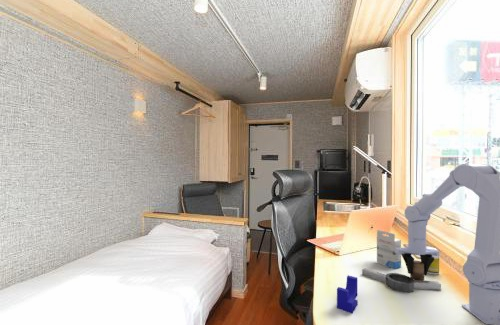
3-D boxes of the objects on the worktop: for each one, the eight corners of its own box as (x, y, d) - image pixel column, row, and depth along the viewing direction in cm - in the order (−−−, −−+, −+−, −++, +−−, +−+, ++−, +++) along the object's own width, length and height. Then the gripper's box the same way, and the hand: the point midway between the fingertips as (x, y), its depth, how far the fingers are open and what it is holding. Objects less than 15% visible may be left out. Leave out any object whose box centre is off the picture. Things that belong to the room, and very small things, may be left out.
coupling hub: (426, 281, 93) (426, 264, 93) (414, 280, 94) (414, 264, 94) (419, 275, 98) (419, 260, 98) (407, 274, 99) (407, 259, 99)
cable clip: (352, 314, 74) (352, 293, 74) (336, 308, 76) (336, 288, 76) (362, 297, 83) (362, 278, 83) (348, 293, 86) (348, 275, 86)
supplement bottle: (442, 275, 100) (442, 250, 100) (426, 274, 101) (426, 249, 102) (435, 270, 106) (435, 246, 106) (420, 269, 107) (420, 245, 107)
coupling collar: (447, 295, 85) (447, 286, 85) (374, 290, 88) (374, 281, 88) (422, 276, 99) (422, 268, 99) (361, 273, 102) (361, 265, 102)
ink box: (401, 267, 109) (401, 232, 109) (394, 269, 106) (395, 234, 106) (382, 260, 116) (383, 228, 116) (376, 262, 114) (376, 229, 114)
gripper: (431, 235, 99) (431, 270, 99) (392, 234, 101) (392, 268, 100) (442, 241, 92) (443, 278, 92) (400, 239, 94) (400, 276, 93)
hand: (417, 273), depth 96 cm, fingers closed on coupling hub, 4 cm apart
